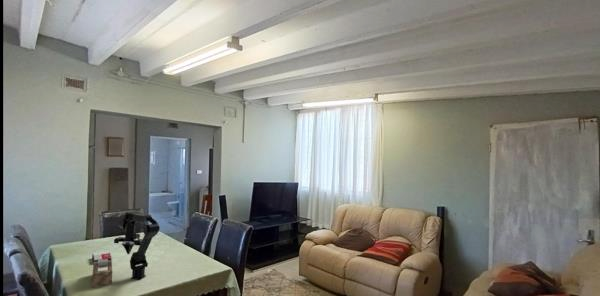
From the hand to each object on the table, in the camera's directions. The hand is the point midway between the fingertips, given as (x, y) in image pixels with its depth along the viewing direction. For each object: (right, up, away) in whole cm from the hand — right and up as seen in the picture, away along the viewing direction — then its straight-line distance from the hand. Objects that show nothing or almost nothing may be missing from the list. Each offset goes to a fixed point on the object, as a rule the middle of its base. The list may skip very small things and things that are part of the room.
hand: (128, 254), depth 217 cm
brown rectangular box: (-9, -11, -13) cm, 20 cm away
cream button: (-6, -6, -18) cm, 20 cm away
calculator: (-30, -12, +20) cm, 38 cm away
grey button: (-12, -4, -9) cm, 15 cm away
